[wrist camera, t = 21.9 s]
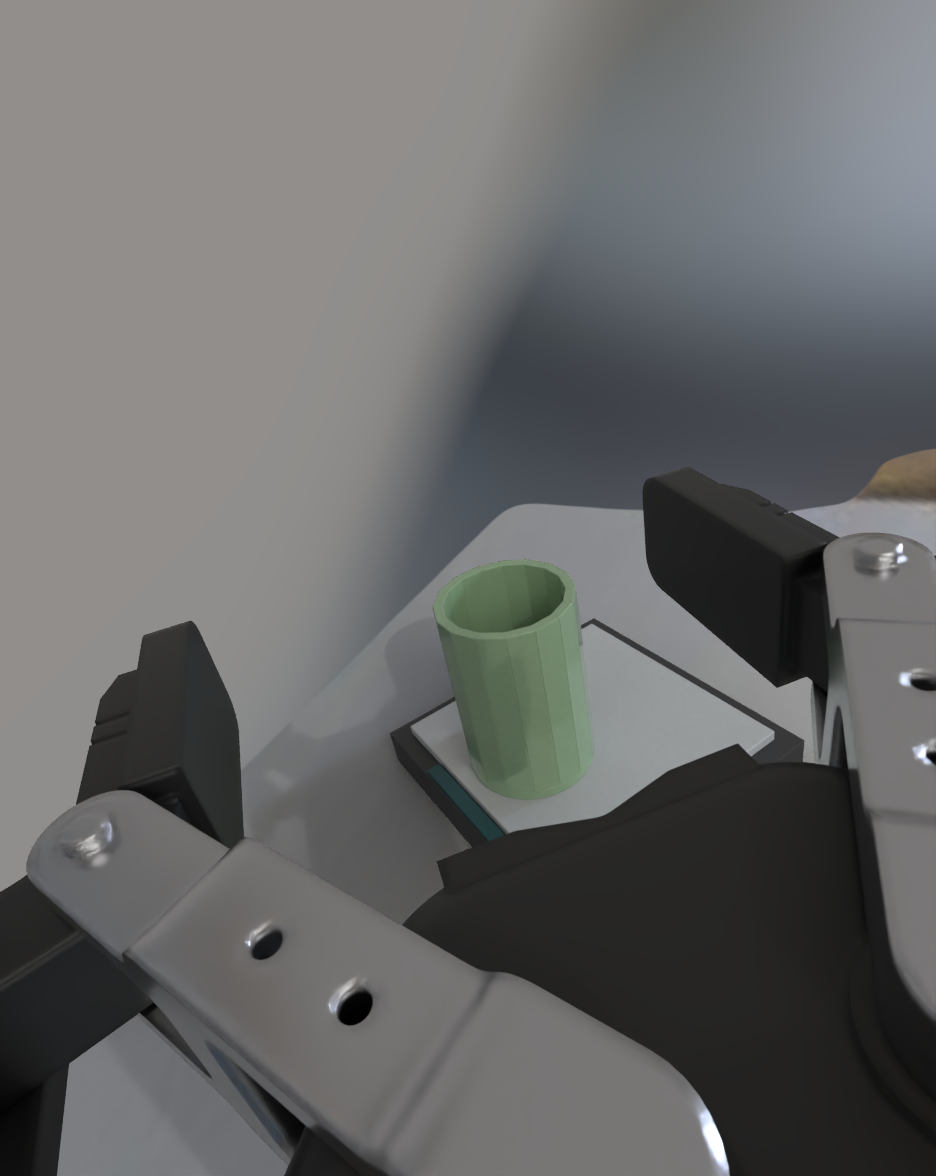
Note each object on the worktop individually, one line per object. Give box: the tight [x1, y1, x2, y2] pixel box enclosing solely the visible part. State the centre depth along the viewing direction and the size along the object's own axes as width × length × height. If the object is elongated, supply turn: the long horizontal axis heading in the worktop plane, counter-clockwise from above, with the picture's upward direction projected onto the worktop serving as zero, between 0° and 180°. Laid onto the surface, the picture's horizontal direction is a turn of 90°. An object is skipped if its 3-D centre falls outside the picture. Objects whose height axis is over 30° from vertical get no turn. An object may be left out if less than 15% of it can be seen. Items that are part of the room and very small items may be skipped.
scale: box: [390, 619, 804, 847], centre depth 40 cm, size 16×16×3 cm
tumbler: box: [433, 559, 594, 800], centre depth 35 cm, size 7×7×10 cm
